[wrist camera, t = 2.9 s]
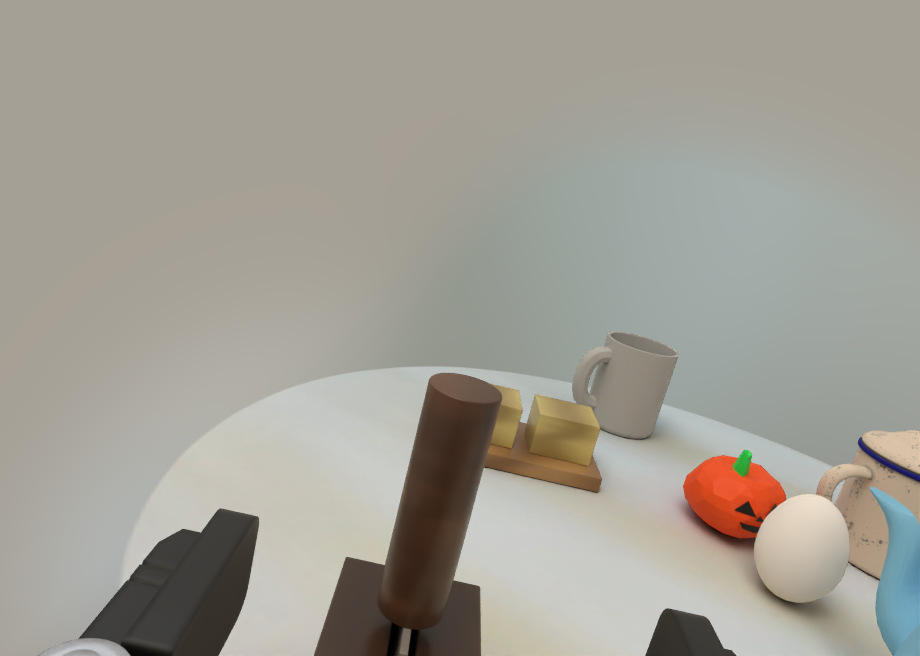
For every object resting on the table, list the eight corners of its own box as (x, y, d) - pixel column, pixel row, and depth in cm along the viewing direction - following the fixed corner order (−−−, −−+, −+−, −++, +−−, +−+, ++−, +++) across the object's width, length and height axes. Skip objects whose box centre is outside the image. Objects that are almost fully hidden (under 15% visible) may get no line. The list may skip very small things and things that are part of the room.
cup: (665, 443, 65) (693, 361, 63) (577, 433, 62) (603, 346, 60) (630, 412, 72) (654, 337, 70) (548, 402, 69) (571, 323, 67)
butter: (437, 456, 51) (450, 401, 49) (442, 416, 58) (454, 368, 57) (597, 492, 51) (615, 439, 50) (581, 448, 59) (596, 401, 58)
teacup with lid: (890, 535, 56) (946, 413, 53) (978, 607, 48) (1051, 466, 45) (765, 513, 55) (816, 386, 52) (833, 583, 46) (899, 435, 43)
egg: (723, 568, 44) (760, 474, 43) (782, 569, 46) (820, 478, 44) (780, 624, 40) (824, 520, 38) (843, 623, 41) (888, 523, 40)
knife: (334, 780, 24) (423, 405, 20) (358, 675, 28) (433, 357, 25) (404, 795, 24) (506, 424, 20) (416, 687, 28) (500, 372, 25)
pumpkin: (785, 536, 51) (815, 464, 50) (749, 565, 46) (781, 485, 44) (702, 491, 56) (727, 424, 54) (659, 512, 50) (685, 437, 49)
